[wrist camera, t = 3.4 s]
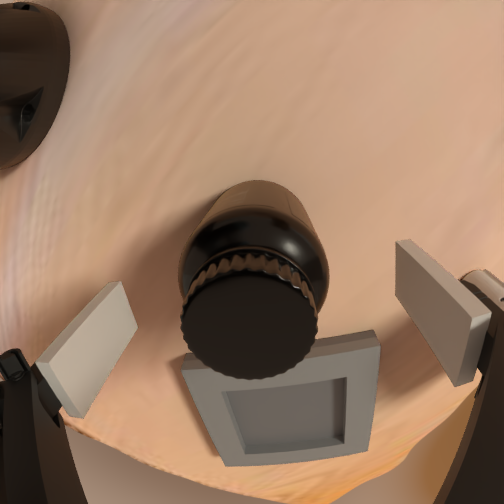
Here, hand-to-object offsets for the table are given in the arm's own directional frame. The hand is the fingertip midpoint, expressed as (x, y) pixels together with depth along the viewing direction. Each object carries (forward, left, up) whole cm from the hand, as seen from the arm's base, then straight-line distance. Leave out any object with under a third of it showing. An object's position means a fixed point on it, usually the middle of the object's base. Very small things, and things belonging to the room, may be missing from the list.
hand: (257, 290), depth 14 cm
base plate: (0, -18, -8) cm, 19 cm away
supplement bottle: (0, 0, -9) cm, 8 cm away
